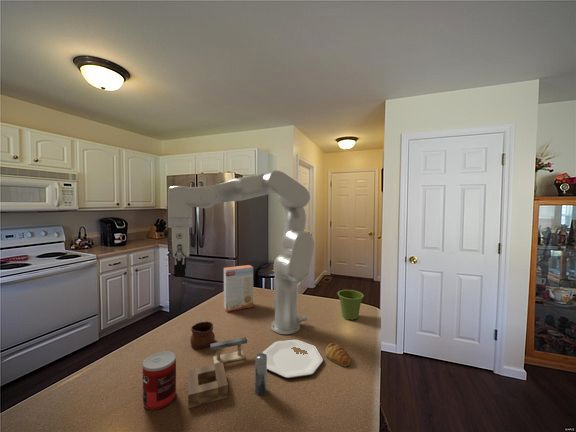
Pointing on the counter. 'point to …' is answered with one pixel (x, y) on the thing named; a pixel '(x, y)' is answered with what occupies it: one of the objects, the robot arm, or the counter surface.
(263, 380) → the pin
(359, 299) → the plant pot
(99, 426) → the counter surface
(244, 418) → the counter surface
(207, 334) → the ceramic pot
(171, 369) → the canned food
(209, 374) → the block with square hole
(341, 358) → the pastry
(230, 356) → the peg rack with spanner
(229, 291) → the cracker box
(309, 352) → the plate
